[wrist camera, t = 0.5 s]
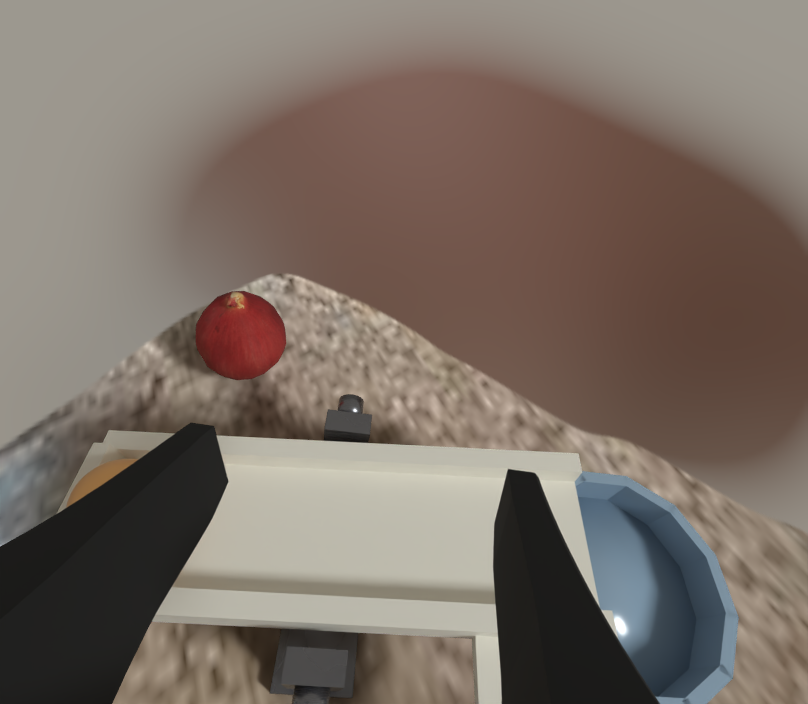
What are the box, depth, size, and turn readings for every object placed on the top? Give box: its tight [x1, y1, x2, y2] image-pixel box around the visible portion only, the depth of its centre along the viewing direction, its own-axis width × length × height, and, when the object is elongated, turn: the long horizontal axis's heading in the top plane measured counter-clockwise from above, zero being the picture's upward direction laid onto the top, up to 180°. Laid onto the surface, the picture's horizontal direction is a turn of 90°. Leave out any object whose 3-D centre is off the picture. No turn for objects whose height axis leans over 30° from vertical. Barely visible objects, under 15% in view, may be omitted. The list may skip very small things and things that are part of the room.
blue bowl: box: [575, 471, 739, 704], centre depth 27 cm, size 12×12×3 cm
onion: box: [196, 291, 286, 380], centre depth 31 cm, size 6×6×8 cm
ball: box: [66, 459, 138, 508], centre depth 20 cm, size 4×4×4 cm
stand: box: [270, 394, 372, 704], centre depth 24 cm, size 14×4×7 cm, turn 176°
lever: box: [57, 430, 618, 704], centre depth 18 cm, size 17×24×3 cm
